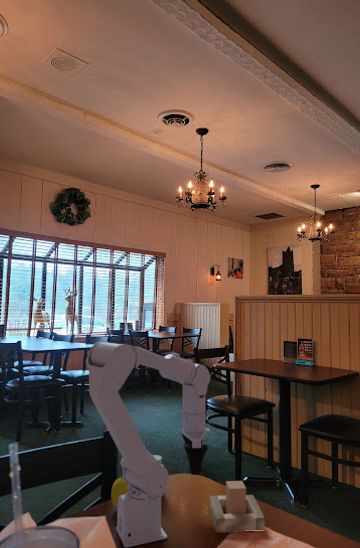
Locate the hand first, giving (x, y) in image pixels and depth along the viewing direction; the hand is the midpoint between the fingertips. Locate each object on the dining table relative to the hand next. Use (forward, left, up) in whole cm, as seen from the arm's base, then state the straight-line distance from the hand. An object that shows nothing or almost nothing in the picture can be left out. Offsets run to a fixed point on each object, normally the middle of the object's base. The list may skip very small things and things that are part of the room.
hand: (194, 467), depth 102 cm
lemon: (-16, +7, -11) cm, 21 cm away
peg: (+8, -7, -10) cm, 15 cm away
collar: (+8, -7, -10) cm, 15 cm away
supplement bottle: (-6, +12, -11) cm, 17 cm away
